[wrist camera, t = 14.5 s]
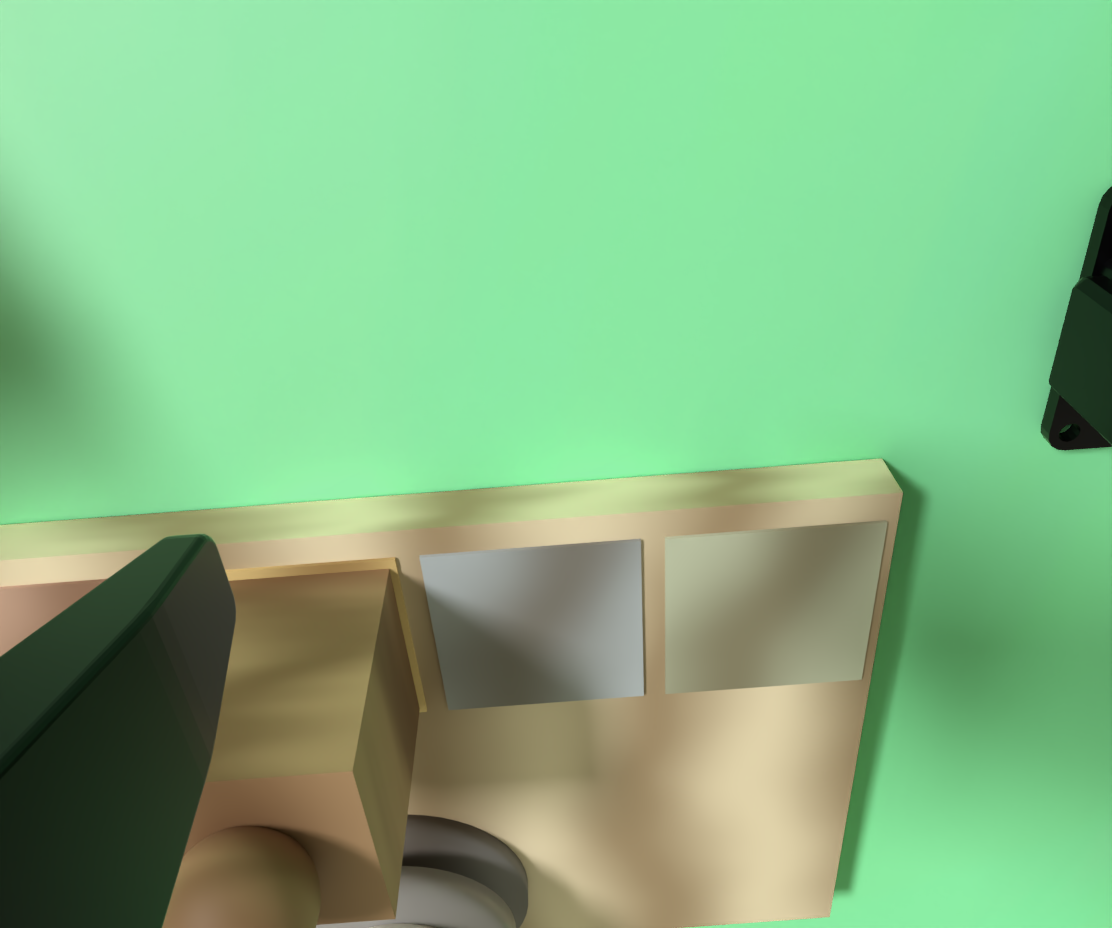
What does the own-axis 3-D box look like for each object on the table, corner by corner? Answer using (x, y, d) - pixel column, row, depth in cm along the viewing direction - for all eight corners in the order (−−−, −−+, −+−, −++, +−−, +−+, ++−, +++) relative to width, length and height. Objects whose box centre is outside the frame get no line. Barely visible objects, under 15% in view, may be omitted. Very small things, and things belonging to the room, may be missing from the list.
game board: (881, 458, 23) (951, 570, 19) (816, 881, 33) (854, 1008, 29) (-63, 529, 23) (-171, 654, 20) (157, 929, 33) (112, 1062, 30)
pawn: (389, 568, 22) (329, 895, 15) (419, 709, 25) (381, 1041, 18) (186, 584, 22) (32, 917, 15) (238, 722, 25) (129, 1059, 18)
